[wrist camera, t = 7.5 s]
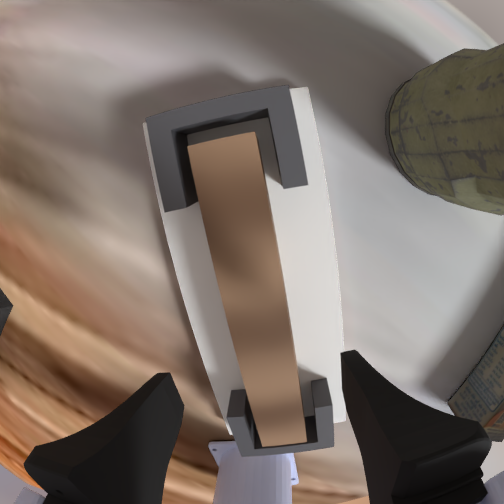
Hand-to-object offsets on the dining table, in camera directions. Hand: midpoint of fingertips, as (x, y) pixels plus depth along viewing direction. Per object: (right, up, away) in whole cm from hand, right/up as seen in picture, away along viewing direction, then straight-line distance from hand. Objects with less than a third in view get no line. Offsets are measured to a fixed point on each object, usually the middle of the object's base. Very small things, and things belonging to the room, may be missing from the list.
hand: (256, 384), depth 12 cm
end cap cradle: (+1, +3, +9) cm, 9 cm away
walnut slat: (+1, +2, +8) cm, 8 cm away
